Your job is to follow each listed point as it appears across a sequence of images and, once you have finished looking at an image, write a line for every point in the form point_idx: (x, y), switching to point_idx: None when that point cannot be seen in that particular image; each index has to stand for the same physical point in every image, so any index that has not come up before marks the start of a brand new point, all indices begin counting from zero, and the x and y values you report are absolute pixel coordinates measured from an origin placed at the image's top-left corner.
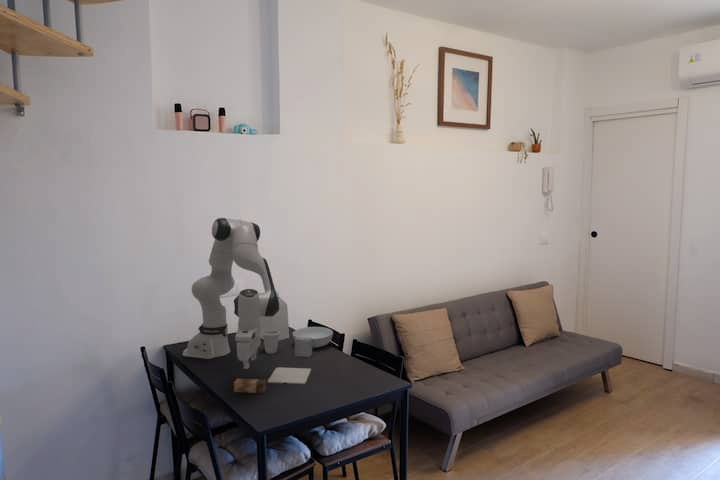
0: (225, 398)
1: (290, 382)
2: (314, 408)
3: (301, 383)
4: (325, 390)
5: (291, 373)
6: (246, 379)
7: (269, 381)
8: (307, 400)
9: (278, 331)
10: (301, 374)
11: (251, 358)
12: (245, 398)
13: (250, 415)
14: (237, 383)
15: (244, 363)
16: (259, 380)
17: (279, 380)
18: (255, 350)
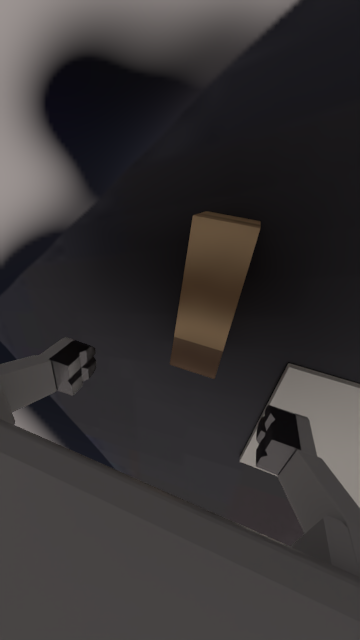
0: (132, 175)
1: (254, 432)
2: (95, 430)
3: (243, 452)
4: (189, 476)
5: (356, 457)
6: (233, 291)
7: (286, 374)
8: (132, 431)
9: None
10: None
11: (267, 417)
12: (136, 274)
13: (29, 295)
14: (191, 238)
15: (22, 366)
16: (208, 353)
17: (286, 407)
18: (293, 546)
